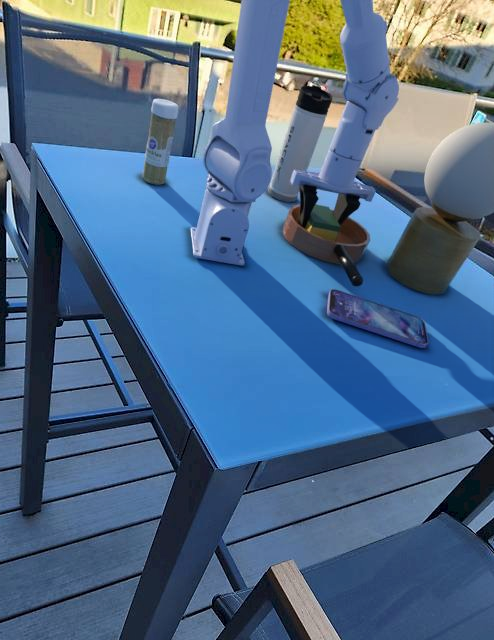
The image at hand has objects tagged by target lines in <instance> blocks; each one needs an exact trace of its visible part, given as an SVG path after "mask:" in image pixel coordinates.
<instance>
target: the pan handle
mask: <svg viewBox="0 0 494 640" xmlns="http://www.w3.org/2000/svg"><path fill="white" fill-rule="evenodd" d="M334 253H335V254H336V256H337V258H338V260H339V262H340V264H339V265H341V267H342V270H343V271H344V273H345V275H346V276H347V278H348V280H349V282H350V283H351V286H352V287H355V288H358V287H360V286H362V285H363V283H364V278H363V276H362V275H361V273H360V271H359V270H358V269H359V268H358V267H357V266H356V264H355V263H354V262H353V261H352V259H351V257H350V256H349V254H348V252H347V251H346V249H345V247H344V246H343V245H341V244H340V245H337V246H336V247H335V248H334Z"/></svg>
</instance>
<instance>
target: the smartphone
mask: <svg viewBox="0 0 494 640" xmlns="http://www.w3.org/2000/svg"><path fill="white" fill-rule="evenodd" d="M326 305H327V306H326V314H327V316H328V317H329V318H330V319H332V320H335V321H338V322H342V323H344V324H347V325H350V326H353V327H356V328H359V329H362V330H366V331H368V332H371V333H375V334H376V335H381V336H383V337H386V338H389V339H393V340H394V341H395V340H396V341H399V342H402V343H405V344H408V345H411V346H413V347H417V348H420V349H426V347H428V344H429V338H428V332H427V327H426V323H425V321H424V319H423V318H422V317H420V316H418V315H414V314H412V313H408V312H406V311H402V310H400V309H397V308H394V307H391V306H388V305H384V304H382V303H378V302H375V301H372V300H369V299H367V298H364V297H360V296H357V295H354V294H352V293H348V292H345V291H342V290H340V289H336V288H332V289H330V290H329V292H328V296H327V304H326Z"/></svg>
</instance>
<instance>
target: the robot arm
mask: <svg viewBox="0 0 494 640" xmlns="http://www.w3.org/2000/svg"><path fill="white" fill-rule="evenodd" d="M290 1H291V0H241V2H240V9H239V16H238V23H237V31H236V38H235V46H234V52H233V58H232V59H233V60H232V66H231V73H230V80H229V88H228V95H227V102H226V109H225V116H224V118H222V119H220V120H219V121H217V122H215V123H214V124H213V125H212V127H211V135H210V137H209V140H208V142H207V144H206V146H205V148H204V150H203V155H202V164H203V167H204V169H205V171H206V172H207V174H206V178H205V180H206V186H205V190H204V195H203V198H202V203H201V207H200V211H199V215H198V220H197V224H196V227H195V226H191V227H190V238H191V245H192V255H193V257H194V258H196V259H201V260H208V261H211V262H212V261H213V262H218V263H223V264H224V263H225V264H231V265H235V266H245V259H244V255H243V248H244V246H245V242H246V239H247V235H248V233H249V229H250V221H249V213H250V211H251V207H252V205H253V203H256V200H257V199H259V198H260V197H261V196H262V195H263V194H265V191H266V190H267V189H268V188H269V186H270V184H271V180H272V176H273V170H272V165H271V155H272V150H273V147H272V143H271V140H270V136H269V134H268V130H267V126H266V124H267V119H268V113H269V108H270V103H271V98H272V93H273V88H274V83H275V79H276V73H277V68H278V63H279V57H280V52H281V48H282V42H283V37H284V32H285V26H286V21H287V17H288V12H289V7H290ZM373 3H374V1H373V0H340V4H341V8H342V12H343V17H344V21H345V24H344V25H343V27H342V29H341V32H340V35H339V41H340V45H341V50H342V55H343V56H342V57H343V61H344V65H345V71H346V72H345V79H344V82H343V85H342V92H341V94H342V96H343V99H344V101H345V102H346V103H345V104H344V105H345V106H344V107H343V111H342V113H341V116H340V119H339V121H338V123H337V127H336V130H335V132H334V134H333V137H332V139H331V143H330V145H329V148H328V151H327V153H326V156H325V159H324V161H323V163H322V166H321V169H320V172H319V171H308V170H307V171H299V170H293V173H292V176H291V179H290V181H291V184H292V185H294V186H298V185H299V205H300V214H299V221H298V224H299V225H300V226H301V227H303V228H304V229H305V227H306V224H307V222H308V219H309V216H310V214H311V212H312V210H313V208H314V206H315V204H317V203H318V201H319V200H320V199H319V196H318V195H317V194H318V191H317V190H319V191H324V192H328V193H329V192H330V193H334V194H337V199H336V202H335V205H334V207H333V208H334V209H333V210H334V211H333V215H334V216H335V218H336V220H337V221H338V223H339V225H341V224H342V223H343V222H344V221H345V220H346V219H347V218H348V217H350V216H351V215H352V214H354V212H356V211H358V210H359V209H360V207H361V201H360V199H361V200H364V201H365V202H368V203H369V202H370V203H372V201H373V199H374V197H375V194H376V192H377V190H376V189H375V188H374V187H373V186H371V185H367V184H364V183H361V182H357V181H356V177H357V174H358V172H359V169H360V168H361V166H362V162H363V160H364V158H365V156H366V153H367V151H368V149H369V147H370V143H371V142H372V140H373V137H374V135H375V132H376V131H378V130H379V128H380V127H382V124H383V122H384V120H385V118H386V117H387V116H388V114H389V113H391V112H392V110H393V109H394V108H395V107H396V105H397V103H398V101H399V97H398V96H399V94H400V93H399V92H400V85H399V81H398V78H397V76H396V75H395V74H393V73H392V72H391V65H390V63H391V61H390V56H389V49H388V43H387V42H388V40H387V31H388V22H387V21H386V20H385V19H384V17H383V16H382V15H381V14H380V13H377V12H374V4H373Z"/></svg>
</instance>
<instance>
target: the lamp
mask: <svg viewBox="0 0 494 640" xmlns="http://www.w3.org/2000/svg"><path fill="white" fill-rule="evenodd" d="M424 171H425V172H424V178H423V179H424V183H423V184H424V189H425V194H426V196H427V197H428V199H429V202H430V204H431V207H427V206H426V207H425V206H422V207H417V208H416V209H415V210H414V211H413V213H412V215H411V217H410V219H409V221H408V223H407V224H406V226H405V228H404V230H403V232H402V234H401V236H400V237H399V239H398V241H397V243H396V245H395V246H394V249H393V250H392V252H391V254H390V256H389V257H388V260H387V262H386V264H385V268H386V271H387V272H388V274H389V275H390V276H391V277H392V278H393V279H394V280H395V281H397V282H399V283H400V284H401V285H403V286H405V287H407V288H409V289H411V290H414V291H416V292H419V293H422V294H427V295H433V296H435V295H442V294H443V293H446V291H447V289H448V288H449V286H450V285H451V283H452V282H453V280H454V279H455V277H456V275H458V272H459V271H460V269H461V268H462V267H463V264H464V263H465V262H466V260H467V258H469V256H470V254H471V253H472V251H473V249H474V248H475V246H476V245H477V243H478V241H479V240H480V239H481V233H480V231H478V229H477V228H476V227H474V226H473V225H472V224H470V223H469V222H470V221H474V220H476V219H480V218H484V217H487V216H489V215H491V214H493V213H494V122H476V123H471V124H467V125H464V126H462V127H460V128H458V129H456V130H455V131H453V132H451V133H450V134H448V135H447V136H446V137H444V139H443V140H442V141H440V143H439V144H438V145H437V146H436V148H434V149H433V152H432V153H431V155H430V157H429V159H428V160H427V163H426V167H425V170H424Z"/></svg>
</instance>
